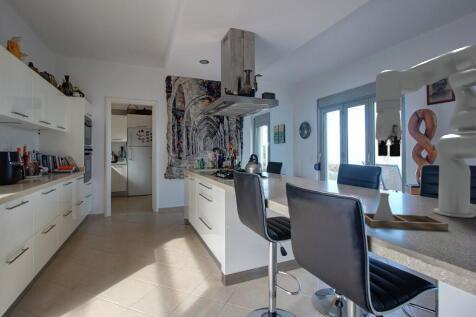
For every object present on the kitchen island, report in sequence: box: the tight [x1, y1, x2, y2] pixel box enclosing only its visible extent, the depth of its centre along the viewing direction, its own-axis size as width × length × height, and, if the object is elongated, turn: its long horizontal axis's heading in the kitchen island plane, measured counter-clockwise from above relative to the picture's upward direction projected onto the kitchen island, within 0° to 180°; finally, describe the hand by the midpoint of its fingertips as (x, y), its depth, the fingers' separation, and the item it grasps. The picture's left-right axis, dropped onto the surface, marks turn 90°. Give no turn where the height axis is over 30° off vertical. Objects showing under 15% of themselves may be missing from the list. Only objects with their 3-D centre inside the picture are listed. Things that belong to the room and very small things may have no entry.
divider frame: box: [363, 212, 449, 231], centre depth 89 cm, size 22×12×2 cm, turn 81°
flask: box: [373, 192, 395, 221], centre depth 89 cm, size 7×7×10 cm
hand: (388, 156), depth 92 cm, fingers open, 9 cm apart
